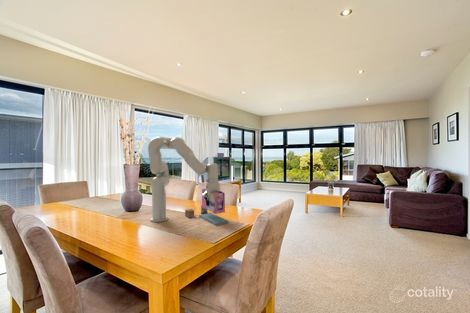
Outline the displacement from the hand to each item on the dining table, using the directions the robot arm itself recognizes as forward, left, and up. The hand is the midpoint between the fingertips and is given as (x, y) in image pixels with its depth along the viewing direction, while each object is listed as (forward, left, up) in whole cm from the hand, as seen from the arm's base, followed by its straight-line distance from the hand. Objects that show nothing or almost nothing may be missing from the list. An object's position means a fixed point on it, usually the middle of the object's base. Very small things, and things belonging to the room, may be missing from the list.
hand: (213, 204), depth 165 cm
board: (0, 0, -11) cm, 11 cm away
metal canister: (-19, +3, -11) cm, 22 cm away
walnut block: (-18, -10, -11) cm, 23 cm away
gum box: (0, 0, -4) cm, 4 cm away
